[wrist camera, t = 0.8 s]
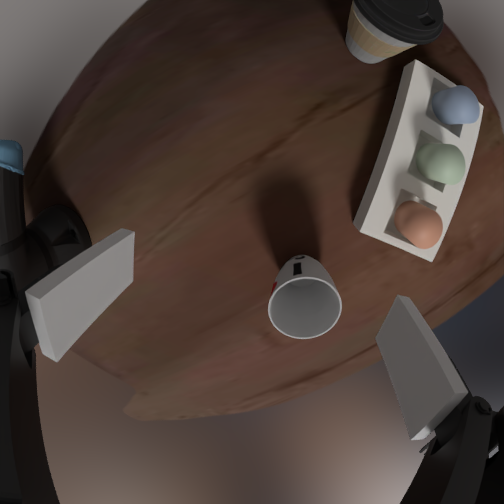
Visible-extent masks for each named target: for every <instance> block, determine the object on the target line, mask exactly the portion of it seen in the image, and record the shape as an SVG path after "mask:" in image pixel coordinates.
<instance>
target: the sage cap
mask: <svg viewBox="0 0 504 504" xmlns="http://www.w3.org/2000/svg"><path fill="white" fill-rule="evenodd" d="M416 165H417V168H418V170H419V172H420V173H421V174H422V175H423V176H424V177H425V178H428V179H431V180H435V181H438V182H441V183H445V184H448V185H455V184H457V183H459V182H460V181H461V180H462V178H463V176H464V174H465V168H466V165H465V159H464V156H463V154H462V152H461V151H460V149H459V148H458V147H456V146H455V145H452V144H437V143H427V144H424V145H422V146H421V147H420V148H419V150H418V151H417V154H416Z"/></svg>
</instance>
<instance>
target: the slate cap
mask: <svg viewBox="0 0 504 504" xmlns="http://www.w3.org/2000/svg"><path fill="white" fill-rule="evenodd" d="M432 109H433V112H434V114H435V116H436V117H437V118H438V120H440V121H441V122H442V123H444V124H447V125H453V124H471V123H474V122H476V121H477V119H478V118H479V114H480V107H479V103H478V100H477V98H476V96H475V95H474V93H473V92H472V91H471V90H470V89H469V88H467V87H466V86H462V85H459V86H455V87H452V88H448V89H445V90H441V91H438V92H436V93H435V94H434V95H433V97H432Z"/></svg>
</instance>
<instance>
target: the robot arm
mask: <svg viewBox="0 0 504 504" xmlns="http://www.w3.org/2000/svg"><path fill="white" fill-rule="evenodd" d="M23 175H24V171H23V151H22V147H21V145H20V144H19V143H18V142H16V141H12V140H0V504H60V503H59V500H58V497H57V494H56V490H55V487H54V484H53V480H52V477H51V473H50V470H49V465H48V461H47V456H46V452H45V447H44V442H43V436H42V430H41V424H40V416H39V407H38V397H37V382H36V353H35V349H34V347H35V345H37V344H38V343H39V344H40V347H41V350H42V353H43V354H44V355H45V356H47V357H49V358H50V359H52V360H54V361H55V362H58V361H59V359H60V358H61V357H62V356H63V355H64V354H65V353H66V351H67V350H68V349H69V348H70V347H71V346H72V345H73V344H74V342H75V341H76V340H77V339H78V338H79V337H80V336H81V335H82V334H83V333H84V331H85V330H86V329H87V328H88V327H89V326H90V325H91V324H92V323H93V322H94V321H95V320H96V319H97V318H98V316H99V315H100V314H101V313H102V312H103V311H104V310H105V309H106V308H107V307H108V306H109V305H110V304H111V303H112V302H113V301H114V300H115V299H116V298H117V297H118V296H119V295H120V294H121V293H122V292H123V291H124V290H125V289H126V288H127V287H128V286H129V285H130V284H131V283H132V282H133V258H134V236H135V232H134V231H130V230H126V229H122V228H121V229H120V230H118V231H116V232H115V233H113V234H111V235H110V236H108V237H106V238H105V239H103V240H101V241H100V242H98V243H96V244H95V245H93V246H92V245H91V240H90V237H89V234H88V232H87V229H86V227H85V225H84V224H83V222H82V221H81V219H80V218H79V216H78V215H77V214H76V213H75V212H74V211H73V210H71V209H70V208H68V207H66V206H63V205H54V206H51V207H49V208H46V209H44V210H43V211H41V212H40V213H39V215H38V216H37V217H36V218H34V219H33V220H32V221H31V222H30V223H29V224H28V225H27V226H26V222H25V211H24V195H23ZM375 339H376V341H377V344H378V346H379V349H380V352H381V354H382V357H383V359H384V362H385V365H386V367H387V370H388V373H389V376H390V378H391V381H392V384H393V387H394V390H395V392H396V396H397V399H398V402H399V405H400V408H401V411H402V414H403V417H404V421H405V424H406V427H407V430H408V434H409V437H410V440H418V439H425V438H426V437H427V436H428V435H429V434H430V433H431V432H432V431H433V430H435V433H436V436H435V437H434V438H433V439H432V440H431V441H430V442H429V443H427V445H425V446H424V447H423V448H422V449H421V450H420V451H419V452H420V453H421V452H423V451H424V450H425V449H427V451H426V453H425V454H424V455H425V456H424V458H423V460H422V463H421V465H420V467H419V469H418V471H417V473H416V475H415V477H414V479H413V481H412V483H411V485H410V487H409V489H408V490H407V492H406V494H405V495H404V497H403V499H402V501H401V502H400V504H504V406H503V407H502V408H501V409H500V411H499V412H495V411H492V408H491V406H490V405H489V403H488V402H487V401H486V400H485V399H483V398H481V397H479V396H475V397H473V396H472V394H471V392H470V391H469V389H468V387H467V385H466V383H465V381H464V380H463V378H462V376H461V375H460V373H459V371H458V369H456V366H455V364H454V362H453V361H452V359H451V358H450V357H449V356H448V355H447V354H446V353H445V351H444V349H443V348H442V346H441V344H440V343H439V341H438V340H437V338H436V336H435V335H434V333H433V332H432V330H431V329H430V327H429V326H428V324H427V323H426V321H425V320H424V318H423V317H422V315H421V314H420V312H419V311H418V309H417V308H416V307H415V305H414V304H413V302H412V301H411V300H410V298H409V297H405V296H400V295H397V296H396V299H395V301H394V303H393V305H392V307H391V309H390V311H389V313H388V315H387V317H386V319H385V321H384V323H383V325H382V327H381V328H380V330H379V332H378V334H377V336H376V338H375ZM497 446H498V449H499V451H498V452H497V453H496V454H494V455H493V456H492V457H491V458H489V453H490V452H491V451H492V450H494V449H495V448H496V447H497Z"/></svg>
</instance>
